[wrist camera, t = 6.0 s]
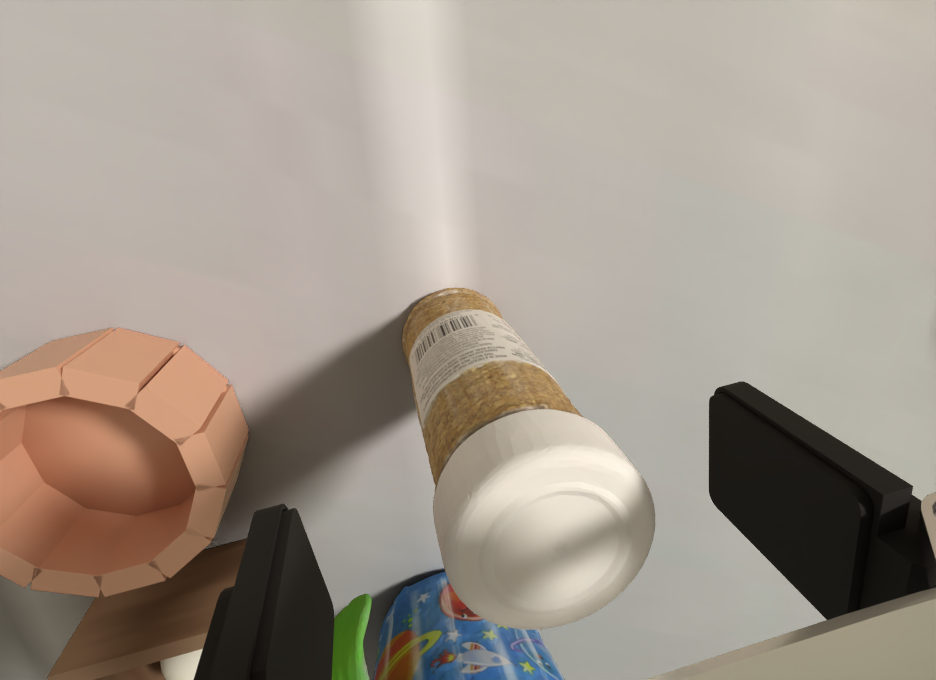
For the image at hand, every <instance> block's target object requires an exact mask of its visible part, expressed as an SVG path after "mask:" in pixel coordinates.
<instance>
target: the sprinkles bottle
mask: <svg viewBox="0 0 936 680" xmlns="http://www.w3.org/2000/svg"><path fill="white" fill-rule="evenodd" d="M402 347H403V352H404V354H405V357H406V360H407V363H408V365H409V367H410V372H411V376H412V387H413V393H414V398H415V404H416V408H417V413H418V418H419V423H420V425H421V428H422V433H423V437H424V441H425V447H426V450H427V453H428V456H429V463H430V467H431V472H432V475H433V479H434V483H435V485H436V487H435V494H434V501H433V514H434V523H435V528H436V533H437V538H438V543H439V547H440V551H441V556H442V560H443V564H444V568H445V572H446V574H447V577H448V580H449V582H450V584H451V586H452V588H453V590H454V592H455V593H456V595H457V596H458V597H459V599H460V600H461V601H462V602H463V603H464V604H465V605H466V606H467V607H468V608H469V609H470V610H471V611H472V612H474V613H475V614H477V615H478V616H480V617H482V618H483V619H485V620H487V621H489V622H491V623H495V624H498V625H501V626H505V627H509V628H515V629H531V630H537V629H545V628H552V627H557V626H561V625H564V624H568V623H571V622H574V621H577V620H580V619H582V618H584V617H586V616H588V615H590V614H592V613H594V612H596V611H597V610H599V609H601V608H602V607H604V606H605V605H607V604H608V603H609V602H611V601H612V600H613V599H614V598H616V597H617V596H618V595H619V594H620V593H621V592H622V591H623V590H624V589H625V588H626V587H627V586H628V585H629V584H630V583H631V581H632V580H633V579H634V578H635V576H636V575H637V573H638V572H639V570H640V569H641V567H642V565H643V563H644V562H645V560H646V558H647V556H648V553H649V550H650V547H651V544H652V541H653V536H654V531H655V509H654V504H653V499H652V496H651V493H650V491H649V489H648V487H647V485H646V482H645V481H644V479H643V478H642V476H641V475H640V473H639V472H638V471H637V470H636V468H635V467H634V466H633V464H632V463H631V462H630V460H629V459H628V458H627V457H626V456H625V455H624V453H623V452H622V451H621V450H620V449H619V447H618V446H617V445H616V444H615V443H614V441H613V440H612V439H611V438H610V437H609V436H608V435H607V434H606V433H605V432H604V431H603V430H602V429H601V428H600V427H599V426H597V425H596V424H594V423H593V422H591V421H589V420H588V419H586V418H584V417H582V416H581V415H580V413H579V412H578V411H577V409H576V408H575V407H574V406H573V405H572V404H571V402H570V400H569V399H568V398H567V397H566V396H565V394H564V392H563V391H562V389H561V387H560V386H559V384H558V383H557V381H556V380H555V379H554V378H553V377H552V376H551V374H550V373H549V372H548V371H547V370H546V368H545V367H544V366H543V365H542V364H541V362H540V361H539V360H538V359H537V358H536V356H535V355H534V354H533V353H532V352H531V350H530V349H529V348H528V347H527V346H526V344H525V343H524V342H523V341H522V339H521V338H520V337H519V336H518V335H517V333H516V332H515V331H514V330H513V329H512V328H511V326H510V325H509V324H507V323H506V322H505V321H504V320H503V319H502V316H501V314H500V312H499V310H498V309H497V307H496V306H495V305H494V304H493V303H492V302H491V301H490V300H489V299H488V298H487V297H486V296H483V295H481V294H479V293H478V292H476V291H473V290H469V289H465V288H447V289H443V290H441V291H437V292H435V293H433V294H431V295H430V296H427V297H425V298H424V299H423V300H421V301H420V302H419V303H418V304H417V305H416V306H415V307H414V308H413V310H412V311H411V313H410V314H409V316H408V318H407V321H406V324H405V326H404V328H403V336H402Z"/></svg>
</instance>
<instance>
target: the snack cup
mask: <svg viewBox="0 0 936 680" xmlns="http://www.w3.org/2000/svg"><path fill="white" fill-rule="evenodd" d="M371 603H372V599H371V597H370V596H369V595H368V594H364V595H361V596H358V597H357V598H355V599H353V600H352V601H351V602H350V604H349V605H348V606H346V607H345V608H344V609H343V610H342V611H341V612H340V613H339V614H338V615H337V616H336V617H335V618H334V639H333V662H332V680H370V679H369V675H368V671H367V665H366V662H365V658H364V650H363V639H364V635H365V632H366V628H367V624H368V620H369V615H370V610H371ZM373 680H565V679H564V678H563V676H562V674H561V672H560V671H559V669H558V667H557V665H556V663H555V662H554V660H553V658H552V656H551V654H550V652H549V651H548V649H547V648H546V646H545V645H544V643H543V641H542V639H541V637H540V635H539V633H538V631H537V630H531V629H515V628H509V627H505V626H501V625H498V624H495V623H491V622H489V621H487V620H485V619H483V618H482V617H480V616H478V615H477V614H475V613H474V612H472V611H471V610H470V609H469V608H468V607H467V606H466V605H465V604H464V603H463V602H462V601H461V600H460V599H459V597H458V596H457V595H456V593H455V592H454V590H453V588H452V586H451V584H450V582H449V580H448V577H447V574H446V572H442V573H439V574H435V575H433V576H430V577H428V578H426V579H424V580H422V581H419V582H418V583H416V584H413V585H411V586H409V587H408V586H405V587H404V588H403V589H402V591H401V592H400V594H399V595H398V596H397V597H396V599H395V601H394V604H393V605H392V606H391V608H390V609H389V611H388V613H387V615H386V617H385V619H384V621H383V624H382V627H381V631H380V635H379V645H378V653H377V658H376V666H375V671H374V678H373Z"/></svg>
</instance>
